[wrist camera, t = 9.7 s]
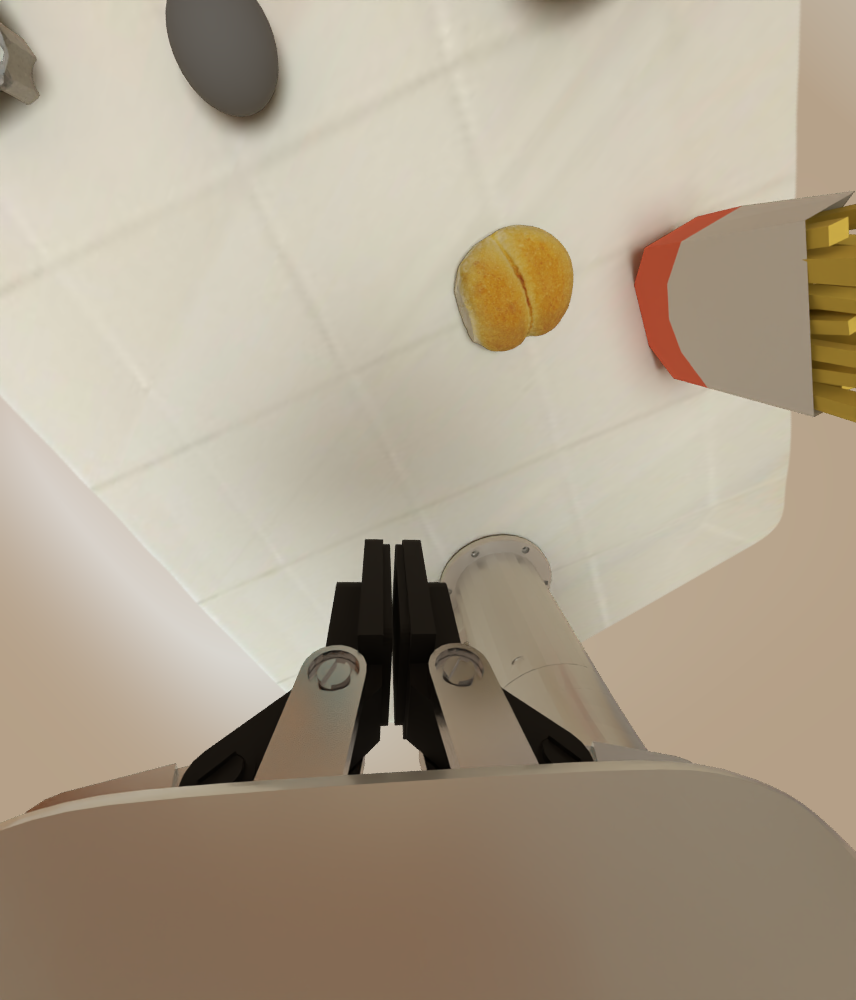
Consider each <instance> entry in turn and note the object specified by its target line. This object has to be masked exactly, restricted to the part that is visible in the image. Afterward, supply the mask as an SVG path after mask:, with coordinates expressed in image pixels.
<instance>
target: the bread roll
mask: <svg viewBox="0 0 856 1000" xmlns="http://www.w3.org/2000/svg"><path fill="white" fill-rule="evenodd" d="M572 288H573V268H572V263H571V259H570V256H569V254H568V252H567V251H566V249H565V248H564V246H563V245H562V244H561V243H560V242H559V241H558V240H557V239H556V238H555V237H554V236H552V235H551V234H549V233H548V232H546V231H544V230H542V229H540V228H537V227H533V226H525V225H513V226H508V227H505V228H502V229H499V230H497V231H496V232H494V233H493V234H492V235H490V236H488V237H486V238H485V239H483V240H482V241H480V242H479V243H477V244H476V245H475V246H474V247H473V248H472V249H471V250H470V251H469V252H468V254H467V255H466V256H465V258H464V259H463V261H462V262H461V264H460V266H459V268H458V271H457V277H456V285H455V295H456V300H457V303H458V307H459V311H460V314H461V316H462V319H463V322H464V325H465V327H466V329H467V331H468V334H469V336H470V338H471V339H472V341H473V342H475V343H478V344H480V345H482V346H483V347H485V348H486V349H488V350H491V351H507V350H510V349H513V348H515V347H517V346H518V345H520V344H521V343H522V342H523V341H524V339H525V337H528V336H539V335H543V334H546V333H547V332H549V331H551V330H552V329H553V328H555V327H556V325H557V324H558V323H559V322H560V320H561V319H562V317H563V315H564V314H565V312H566V310H567V308H568V306H569V303H570V299H571V294H572Z"/></svg>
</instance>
